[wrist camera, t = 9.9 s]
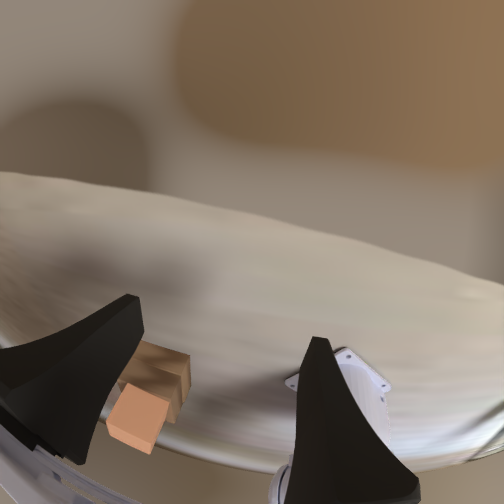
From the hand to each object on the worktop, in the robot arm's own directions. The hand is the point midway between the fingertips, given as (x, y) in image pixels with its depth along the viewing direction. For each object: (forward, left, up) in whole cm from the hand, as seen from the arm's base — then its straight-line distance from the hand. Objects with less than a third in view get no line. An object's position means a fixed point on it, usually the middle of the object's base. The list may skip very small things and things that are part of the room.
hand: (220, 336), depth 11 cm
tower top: (-4, +20, -8) cm, 22 cm away
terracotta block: (-4, +19, -5) cm, 20 cm away
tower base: (-4, +20, -11) cm, 23 cm away
